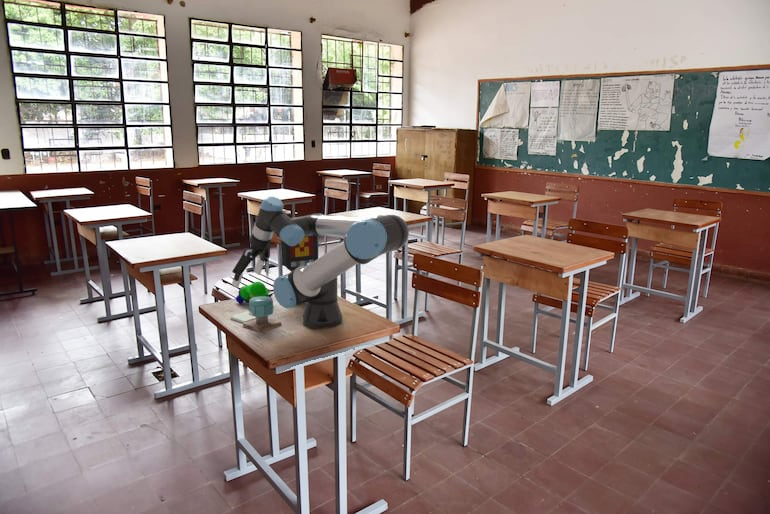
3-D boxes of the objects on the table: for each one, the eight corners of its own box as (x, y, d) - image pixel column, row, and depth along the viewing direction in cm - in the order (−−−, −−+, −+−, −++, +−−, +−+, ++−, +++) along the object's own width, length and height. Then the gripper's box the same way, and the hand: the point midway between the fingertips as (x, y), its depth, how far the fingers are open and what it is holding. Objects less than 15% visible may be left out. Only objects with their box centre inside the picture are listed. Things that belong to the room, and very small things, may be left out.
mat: (263, 317, 211) (263, 315, 211) (244, 323, 204) (244, 321, 204) (249, 312, 217) (249, 310, 216) (230, 318, 210) (230, 316, 209)
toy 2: (288, 304, 228) (285, 234, 221) (283, 300, 233) (280, 232, 226) (319, 299, 234) (317, 231, 227) (313, 295, 239) (311, 229, 232)
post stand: (281, 324, 203) (280, 302, 201) (260, 332, 196) (258, 308, 194) (264, 319, 209) (263, 297, 207) (243, 326, 202) (241, 303, 200)
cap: (280, 311, 203) (279, 298, 202) (257, 319, 195) (256, 305, 194) (265, 307, 208) (264, 294, 207) (242, 314, 200) (242, 300, 199)
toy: (242, 316, 225) (257, 296, 217) (229, 295, 228) (244, 275, 219) (260, 310, 233) (275, 291, 224) (248, 290, 236) (262, 270, 227)
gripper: (273, 220, 209) (257, 263, 220) (232, 240, 188) (217, 286, 198) (288, 230, 208) (272, 273, 218) (248, 251, 187) (233, 297, 197)
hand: (246, 279), depth 208 cm, fingers open, 13 cm apart
